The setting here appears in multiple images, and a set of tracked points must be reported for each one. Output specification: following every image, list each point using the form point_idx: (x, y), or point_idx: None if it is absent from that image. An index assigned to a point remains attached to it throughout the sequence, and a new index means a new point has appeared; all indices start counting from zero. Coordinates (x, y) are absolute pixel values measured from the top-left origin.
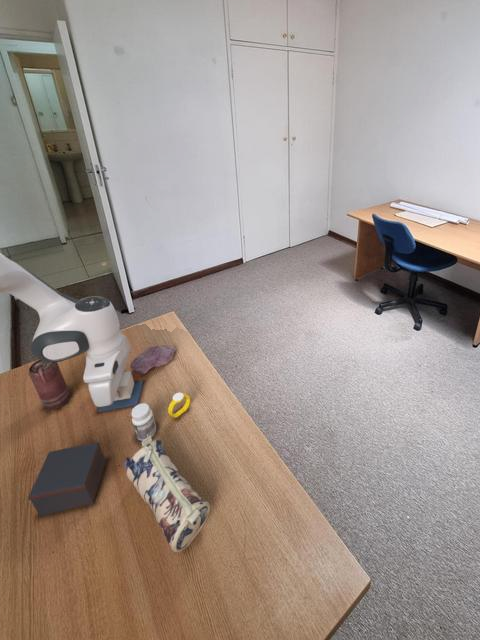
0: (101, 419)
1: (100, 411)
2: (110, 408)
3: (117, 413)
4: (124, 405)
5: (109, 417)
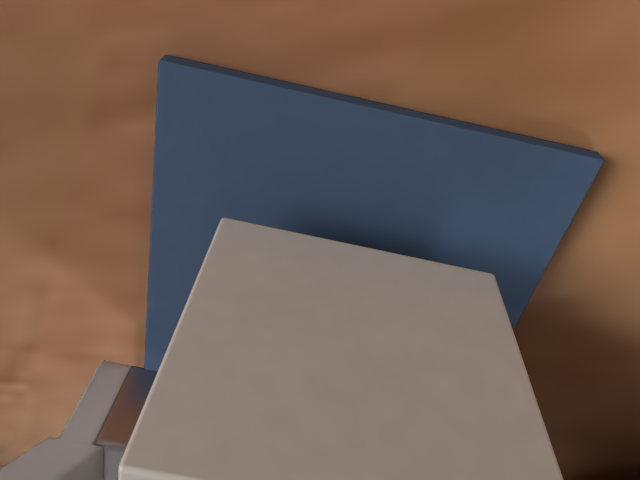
0: (28, 104)
1: (163, 88)
2: (158, 216)
3: (86, 268)
4: (160, 342)
5: (44, 193)
